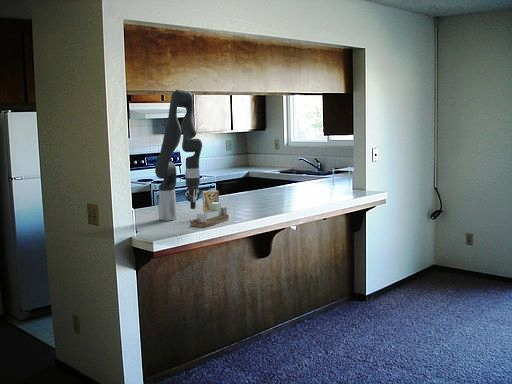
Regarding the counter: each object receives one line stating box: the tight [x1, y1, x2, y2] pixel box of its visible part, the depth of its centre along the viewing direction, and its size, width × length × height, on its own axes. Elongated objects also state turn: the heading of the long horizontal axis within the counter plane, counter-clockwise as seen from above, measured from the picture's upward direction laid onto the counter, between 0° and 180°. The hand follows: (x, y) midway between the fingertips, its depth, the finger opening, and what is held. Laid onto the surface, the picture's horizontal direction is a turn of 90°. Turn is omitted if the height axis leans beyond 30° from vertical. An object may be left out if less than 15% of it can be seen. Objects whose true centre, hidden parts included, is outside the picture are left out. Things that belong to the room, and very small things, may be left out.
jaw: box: [196, 210, 219, 223], centre depth 334 cm, size 6×12×5 cm, turn 151°
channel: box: [189, 206, 230, 228], centre depth 335 cm, size 10×24×7 cm, turn 151°
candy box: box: [201, 189, 220, 212], centre depth 353 cm, size 9×4×15 cm, turn 120°
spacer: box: [210, 202, 222, 217], centre depth 341 cm, size 4×4×9 cm
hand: (193, 208), depth 322 cm, fingers closed
